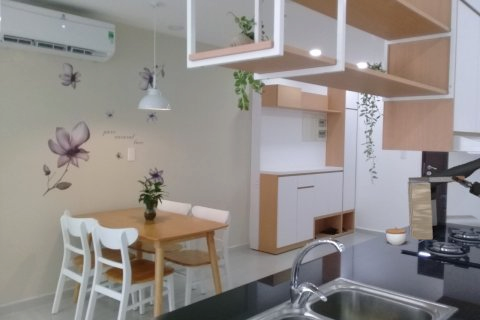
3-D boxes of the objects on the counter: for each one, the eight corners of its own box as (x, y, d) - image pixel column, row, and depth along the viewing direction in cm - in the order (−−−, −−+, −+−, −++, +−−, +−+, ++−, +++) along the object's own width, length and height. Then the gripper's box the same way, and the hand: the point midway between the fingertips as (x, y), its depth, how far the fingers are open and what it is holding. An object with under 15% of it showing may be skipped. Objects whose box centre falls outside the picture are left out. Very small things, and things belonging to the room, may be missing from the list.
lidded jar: (392, 241, 242) (392, 224, 242) (410, 243, 234) (409, 226, 233) (382, 244, 235) (381, 227, 235) (400, 247, 227) (399, 229, 227)
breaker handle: (428, 182, 250) (428, 177, 250) (463, 181, 245) (462, 175, 245) (430, 182, 246) (429, 177, 246) (464, 181, 242) (464, 176, 242)
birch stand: (410, 234, 258) (407, 177, 258) (427, 234, 256) (425, 176, 256) (414, 239, 244) (411, 178, 243) (432, 239, 241) (430, 178, 241)
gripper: (480, 184, 248) (451, 170, 252) (488, 186, 234) (458, 171, 238) (473, 195, 249) (445, 181, 253) (481, 197, 235) (451, 183, 239)
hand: (451, 176), depth 245 cm, fingers closed on breaker handle, 3 cm apart
